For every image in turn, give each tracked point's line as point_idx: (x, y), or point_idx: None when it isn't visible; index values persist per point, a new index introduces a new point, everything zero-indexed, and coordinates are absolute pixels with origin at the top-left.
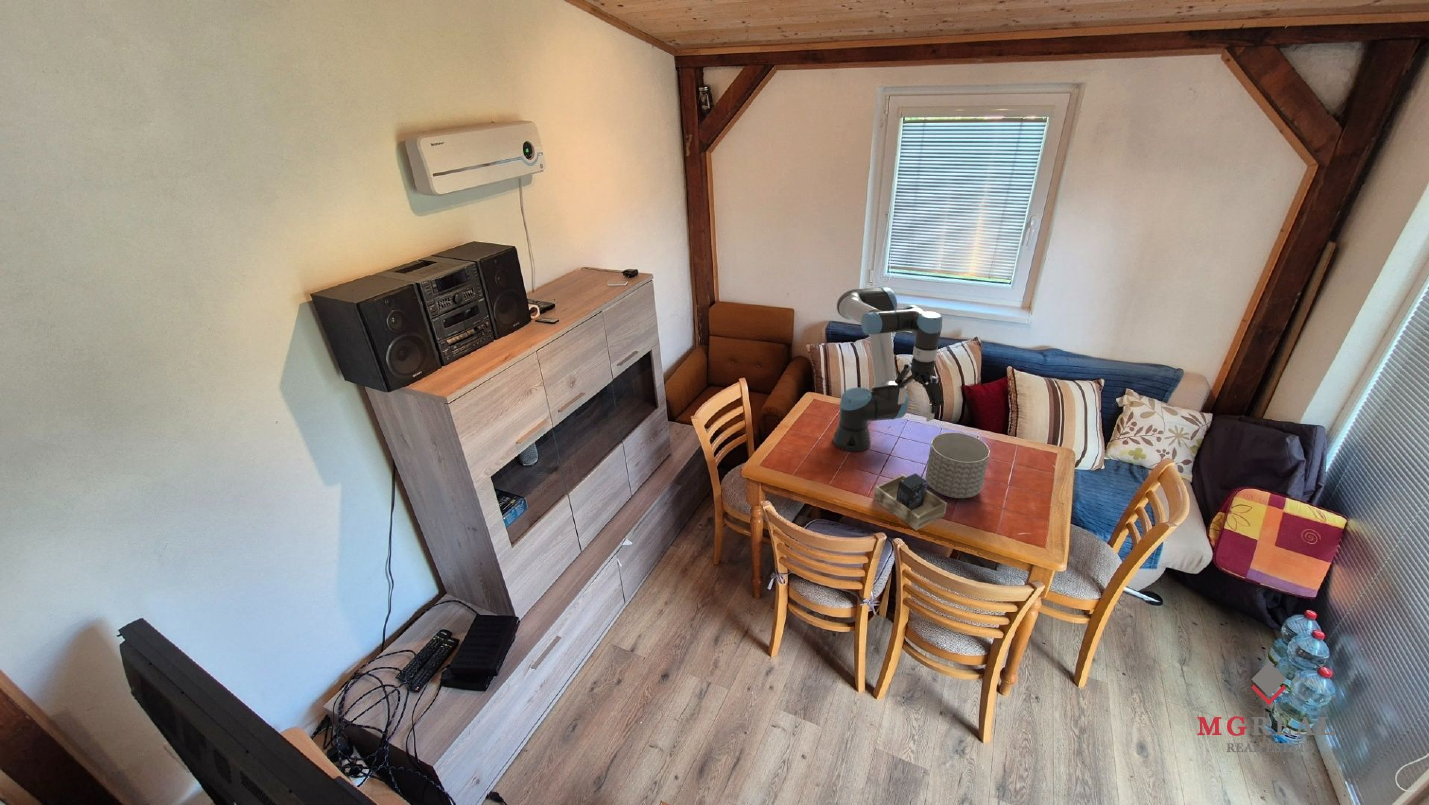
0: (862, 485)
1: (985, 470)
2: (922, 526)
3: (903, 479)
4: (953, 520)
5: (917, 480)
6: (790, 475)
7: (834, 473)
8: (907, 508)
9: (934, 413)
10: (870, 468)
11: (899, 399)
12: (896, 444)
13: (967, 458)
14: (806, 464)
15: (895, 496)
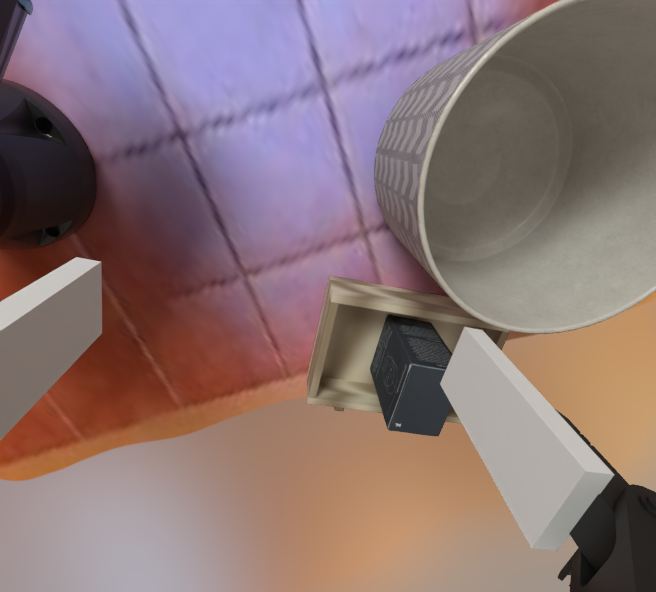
0: (245, 349)
1: (653, 153)
2: None
3: (396, 418)
4: None
5: (437, 394)
6: (81, 444)
7: (147, 361)
8: None
9: (514, 369)
10: (198, 264)
11: (62, 366)
12: (139, 28)
13: (522, 40)
14: (57, 384)
15: (351, 342)
